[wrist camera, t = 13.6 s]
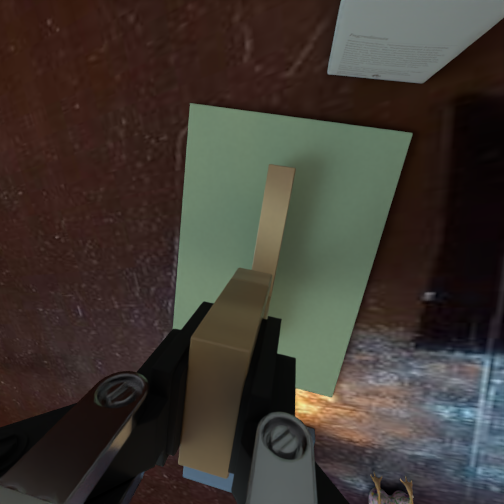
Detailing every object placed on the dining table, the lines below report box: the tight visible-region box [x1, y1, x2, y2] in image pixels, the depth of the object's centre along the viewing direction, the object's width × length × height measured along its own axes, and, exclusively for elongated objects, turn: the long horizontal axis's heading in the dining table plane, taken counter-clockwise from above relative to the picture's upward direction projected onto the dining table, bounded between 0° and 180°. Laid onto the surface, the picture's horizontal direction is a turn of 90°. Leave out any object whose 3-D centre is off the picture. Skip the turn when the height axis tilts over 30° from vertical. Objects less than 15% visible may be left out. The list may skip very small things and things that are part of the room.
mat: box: [173, 103, 413, 397], centre depth 20 cm, size 20×14×1 cm
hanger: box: [178, 164, 296, 479], centre depth 13 cm, size 13×2×12 cm, turn 171°
